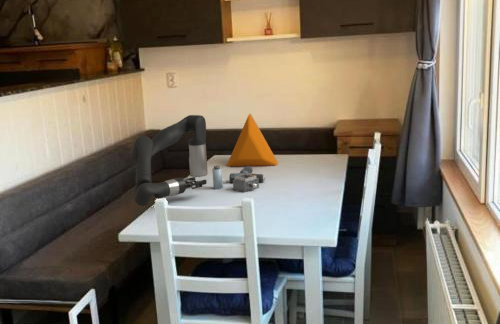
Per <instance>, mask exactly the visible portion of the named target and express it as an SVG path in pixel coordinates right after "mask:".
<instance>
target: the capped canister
mask: <svg viewBox="0 0 500 324" xmlns="http://www.w3.org/2000/svg"><path fill="white" fill-rule="evenodd" d="M211 171H212V185H213V190H222V189H223V188H224V187H223V186H224V183H223V171H222V167H220V165H214V166H213V168H212V170H211ZM221 188H222V189H221Z"/></svg>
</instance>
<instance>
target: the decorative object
mask: <svg viewBox="0 0 500 324" xmlns="http://www.w3.org/2000/svg"><path fill="white" fill-rule="evenodd" d="M278 165H279V162H278V160H277V158H276V156H275V155H274V153H273V151H272V150H271V147H270V146H269V143H268V142H267V140H266V139H265V137H264V135H263V133H262V132H261V129H260V128H259V126H258V124H257V122H256V121H255V119H254V116H253V115H252V114H251V113H249V114H247V117H246V120H245V123H244V125H243V127H242V129H241V131H240V134H239V136H238V138H237V141H236V144H235V145H234V148H233V150H232V153H231V154H230V157H229V159H228V161H227V165H226V167H230V166H231V167H246V166H250V167H263V166H264V167H266V166H267V167H268V166H269V167H270V166H278Z"/></svg>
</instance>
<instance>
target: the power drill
mask: <svg viewBox="0 0 500 324" xmlns="http://www.w3.org/2000/svg"><path fill="white" fill-rule="evenodd" d="M253 171H254V170H253V166H243V168H242V169H241V170H240V172H234V173H232V172H231V173H230V174H229V183H230V184H233V180H235V177H236V176H239V175H242V174H251V175H256V178H259V183H263V182H265V180H266V179H267V177H266V175H264V174H263V173H253Z"/></svg>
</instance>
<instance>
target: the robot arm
mask: <svg viewBox="0 0 500 324" xmlns="http://www.w3.org/2000/svg"><path fill="white" fill-rule="evenodd" d="M186 133H194V136H193V137H191V138H189V139H188V149H189V151H188V152H189V157H188V163H189V174H190V176H192V177H176V178H172V179H168V180H165V181H161V182H156V183H155V182H152V157H154V156H155V155H156V154H158V153H159V152H160V151H161V152H162V151H163V150H164V149H167V148H168V147H170V146H173V145H174V144H176V143H178V142H179V141H180V140H181V138H182V135H184V134H186ZM206 140H207V122H206V119H205V117H204V115H200V114H189V115H187V116H185V117H184V118H182V119H181V120H179V121H177V122H176V123H174V124H171V125H169V126H167V127H165V128H162V129H161V130H159V131H158V132H157V133H156V134H155V135H154V137H153V138H150V137H149V136H145V135H140V136H138V137H137V138H136V139H135V141H134V143H133V146H132V148H131V157H132V159H134V160H135V161H137V163H136V169H135V188H134V195H133V197H134V201H135V203H136V204H137V205H138V206H140V207H146V206H147V205H148V204H149V203H150V202H151V199H152V196H153V197H154V198H156V199H162V198H166V197H172V196H177V195H181V194H184V193H185V192H186V190H188V189H191V190H196V189H199V188H202V187H203V186H204V185H207V182H208V180H207V179H202V180H201V179H200V180H196V177H203V176H206V175H208V172H209V171H208V159H207V146H206V144H207V143H206Z"/></svg>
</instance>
